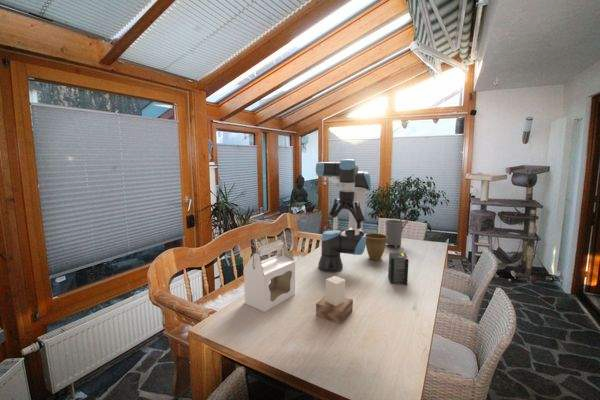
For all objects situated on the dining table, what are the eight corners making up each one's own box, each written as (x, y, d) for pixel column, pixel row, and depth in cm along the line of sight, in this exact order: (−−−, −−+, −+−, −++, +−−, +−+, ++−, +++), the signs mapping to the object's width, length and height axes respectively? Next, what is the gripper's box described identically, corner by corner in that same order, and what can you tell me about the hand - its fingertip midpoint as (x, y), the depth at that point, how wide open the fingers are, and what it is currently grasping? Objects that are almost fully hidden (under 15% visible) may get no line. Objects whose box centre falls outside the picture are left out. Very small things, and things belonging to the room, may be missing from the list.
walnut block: (315, 316, 125) (316, 303, 124) (328, 304, 135) (328, 292, 134) (341, 325, 119) (341, 311, 118) (352, 312, 129) (352, 299, 128)
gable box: (264, 312, 127) (263, 251, 123) (244, 303, 135) (242, 245, 131) (295, 294, 145) (295, 240, 141) (276, 287, 153) (275, 235, 149)
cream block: (325, 301, 126) (325, 279, 125) (334, 296, 130) (334, 275, 129) (335, 306, 122) (336, 284, 120) (344, 301, 126) (345, 279, 125)
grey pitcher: (379, 246, 224) (381, 215, 220) (384, 241, 236) (386, 211, 232) (404, 250, 214) (406, 217, 210) (408, 245, 227) (410, 214, 223)
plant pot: (390, 259, 195) (392, 236, 193) (376, 264, 187) (377, 240, 184) (373, 253, 207) (374, 231, 205) (359, 257, 199) (360, 234, 196)
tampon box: (407, 285, 156) (409, 259, 153) (389, 283, 157) (391, 258, 155) (404, 277, 166) (406, 252, 164) (387, 275, 168) (389, 251, 166)
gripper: (322, 188, 149) (322, 228, 153) (363, 194, 132) (362, 238, 135) (332, 187, 154) (331, 225, 158) (372, 192, 137) (371, 235, 140)
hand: (345, 231), depth 147 cm, fingers open, 13 cm apart
